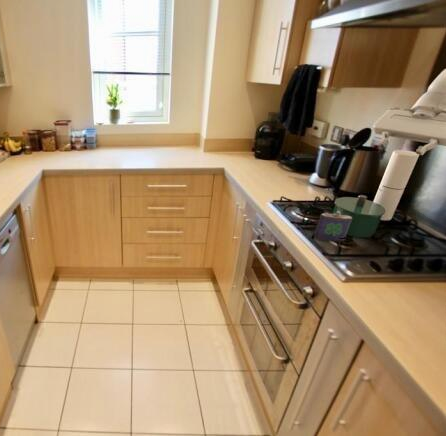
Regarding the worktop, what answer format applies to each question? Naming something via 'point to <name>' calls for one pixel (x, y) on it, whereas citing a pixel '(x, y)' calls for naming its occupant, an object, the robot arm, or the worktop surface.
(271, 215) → the worktop surface
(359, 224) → the pot
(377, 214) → the pot lid
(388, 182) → the cylindrical container
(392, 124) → the robot arm
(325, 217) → the flask
